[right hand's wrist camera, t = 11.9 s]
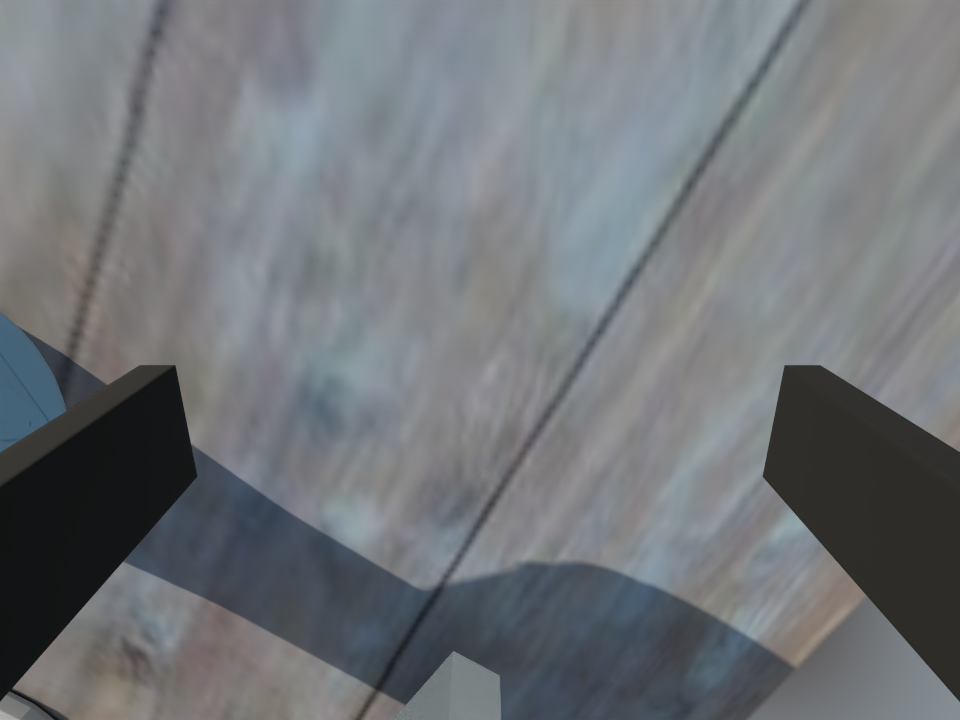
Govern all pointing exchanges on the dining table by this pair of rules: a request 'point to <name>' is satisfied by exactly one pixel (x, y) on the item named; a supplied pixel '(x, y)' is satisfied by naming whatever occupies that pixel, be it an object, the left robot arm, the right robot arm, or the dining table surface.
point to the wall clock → (20, 709)
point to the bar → (456, 693)
